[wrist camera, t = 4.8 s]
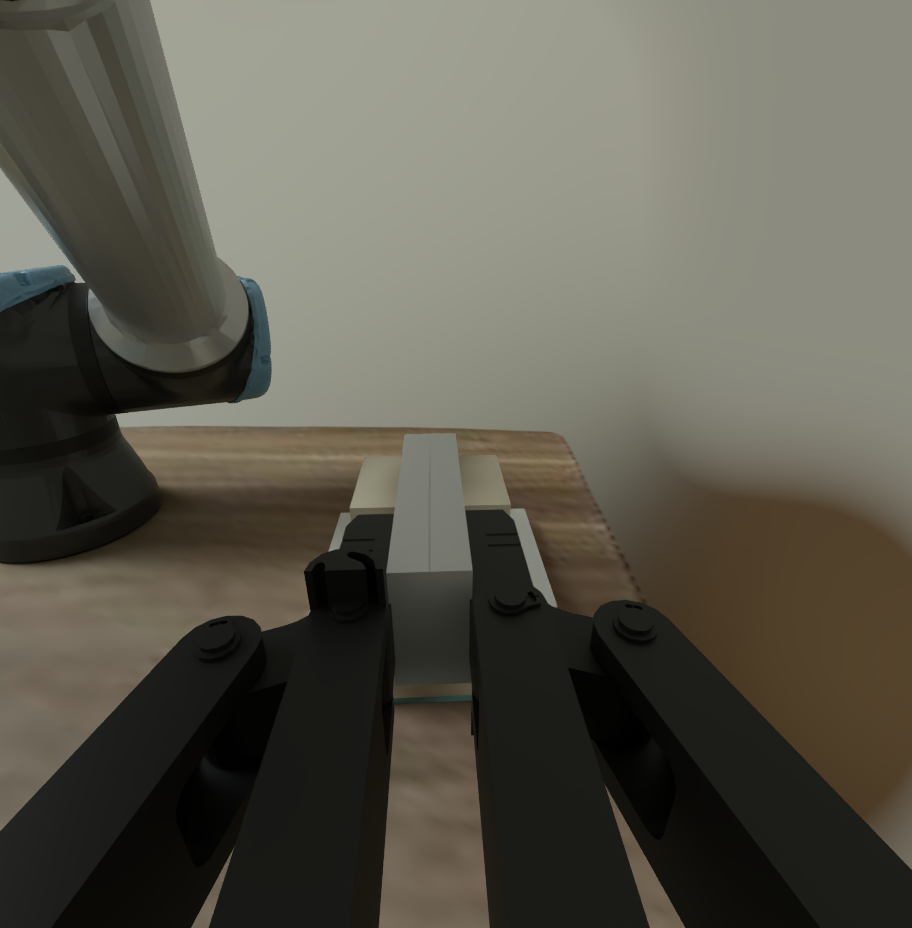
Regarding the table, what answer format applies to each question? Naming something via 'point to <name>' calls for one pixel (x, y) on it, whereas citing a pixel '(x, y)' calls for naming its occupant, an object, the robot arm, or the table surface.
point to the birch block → (379, 497)
